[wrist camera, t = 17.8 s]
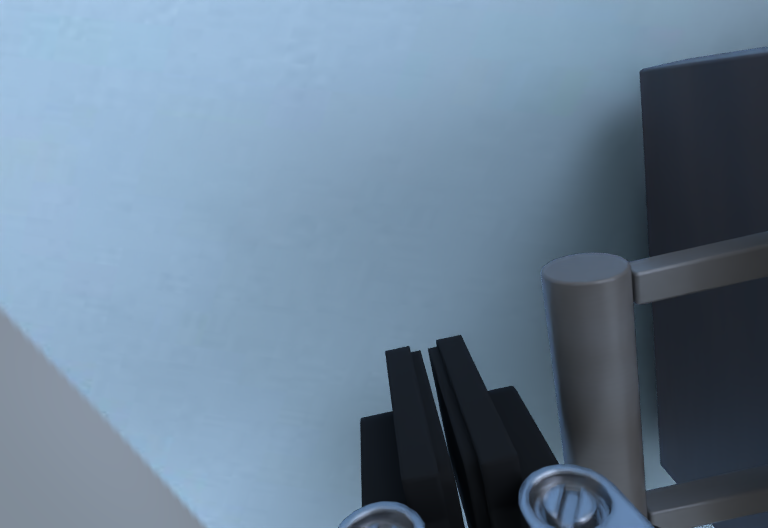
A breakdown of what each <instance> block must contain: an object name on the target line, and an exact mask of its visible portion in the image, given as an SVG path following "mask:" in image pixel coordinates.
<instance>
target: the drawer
mask: <svg viewBox="0 0 768 528" xmlns="http://www.w3.org/2000/svg"><path fill="white" fill-rule="evenodd" d="M640 91H641V109H642V128H643V147H644V166H645V184H646V203H647V222H648V241H649V258H644V259H640V260H635V261H631V262H628V261H627V260H626V259H625V258H623V257H620V256H617V255H613V254H607V253H580V254H573V255H568V256H564V257H560V258H557V259H555V260H552V261H550V262H549V263H547V264H546V265H544V266H543V268H542V270H541V280H542V288H543V296H544V304H545V312H546V320H547V328H548V336H549V344H550V352H551V360H552V368H553V376H554V384H555V392H556V400H557V408H558V416H559V424H560V432H561V440H562V448H563V456H564V464H574V465H578V466H582V467H587V468H590V469H592V470H594V471H596V472H598V473H600V474H602V475H603V476H605V477H606V478H607V479H608V480H610V481H611V482H612V483H613V484H614V485H615V486H616V487H617V488H618V489H619V490H620V491H621V492H622V493H623V494H624V495H625V496H626V497H627V498H628V499H629V501H630V502H631V503H632V504H633V505H634V506H635V507H636V508H637V509H638V510H639V511H640V512H641V513H642V514H643V515H644V516H645V518H646V519H647V520H648V521H649V522H650V523H651V524H652V525H655V526H658V527H660V528H694V527H698V526H703V525H707V524H712V525H713V526H714V527H715V528H768V47H762V48H755V49H748V50H742V51H735V52H729V53H722V54H716V55H709V56H703V57H696V58H690V59H685V60H680V61H676V62H671V63H667V64H662V65H658V66H654V67H649V68H645V69H642V70H641V71H640ZM633 302H634V303H636V304H638V305H642V304H647V303H651V302H652V316H653V334H654V353H655V372H656V391H657V409H658V428H659V447H660V464H661V466H662V467H663V468H664V469H665V470H666V472H667V473H668V474H669V475H670V476H671V477H672V479H673V480H674V481H675V482H676V483H677V484H675V485H670V486H666V487H661V488H657V489H652V490H647V491H646V487H645V472H644V456H643V441H642V426H641V411H640V395H639V380H638V365H637V350H636V334H635V319H634V304H633Z"/></svg>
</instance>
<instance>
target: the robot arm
mask: <svg viewBox="0 0 768 528" xmlns="http://www.w3.org/2000/svg"><path fill="white" fill-rule="evenodd" d="M436 344H437V347H433V348H429V349H428V352H429V357H430V362H431V367H432V372H433V377H434V382H435V387H436V392H437V397H438V402H439V407H440V412H441V417H442V422H443V427H444V432H445V437H446V442H447V445H446V442H445V438H444V435H443V431H442V427H441V424H440V420H439V416H438V413H437V409H436V405H435V402H434V398H433V394H432V391H431V387H430V384H429V380H428V376H427V373H426V369H425V365H424V362H423V358H422V354H421V351H420V350H419V351H415V352H411V351H410V347H409V346H407V347H402V348H397V349H393V350H388V351H385V355H386V363H387V370H388V378H389V386H390V394H391V402H392V410H393V411H391V412H387V413H382V414H377V415H372V416H368V417H363V418H361V421H360V431H361V484H362V508H360V509H357V510H355V511H354V512H353V513H352V514H350V515H349V516H348V517H347V518H345V519H344V520H343V521H342V523H341V524H340V525H339V527H338V528H465V526H464V521H463V516H462V511H461V506H460V501H459V496H458V491H459V494H460V498H461V502H462V505H463V509H464V513H465V516H466V520H467V523H468V527H469V528H660V527H658V526H655V525H652V524H651V523H650V522H649V521H648V520H647V519H646V518H645V516H644V515H643V514H642V513H641V512H640V511H639V510H638V509H637V508H636V507H635V506H634V505H633V504H632V503H631V502H630V501H629V499H628V498H627V497H626V496H625V495H624V494H623V493H622V492H621V491H620V490H619V489H618V488H617V487H616V486H615V485H614V484H613V483H612V482H611V481H610V480H608V479H607V478H606V477H605V476H603V475H602V474H600V473H598V472H596V471H594V470H592V469H590V468H587V467H582V466H578V465H574V464H559V463H558V461H557V460H556V458H555V456H554V454H553V453H552V451H551V449H550V447H549V446H548V444H547V442H546V441H545V439H544V437H543V435H542V434H541V432H540V430H539V428H538V427H537V425H536V423H535V422H534V420H533V418H532V416H531V415H530V413H529V411H528V409H527V408H526V406H525V404H524V403H523V401H522V399H521V397H520V396H519V394H518V392H517V390H516V389H515V388H514V387H513V386H508V387H504V388H499V389H494V390H490V391H487V389H486V387H485V385H484V383H483V380H482V378H481V376H480V374H479V372H478V370H477V368H476V366H475V364H474V361H473V359H472V357H471V355H470V353H469V351H468V349H467V347H466V345H465V342H464V340H463V338H462V336H461V335H458V336H453V337H449V338H444V339H439V340H436ZM447 447H448V449H447ZM448 452H449V453H448ZM453 472H454V473H453ZM454 476H455V477H454ZM455 480H456V481H455ZM456 483H457V486H456ZM457 487H458V491H457Z"/></svg>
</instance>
